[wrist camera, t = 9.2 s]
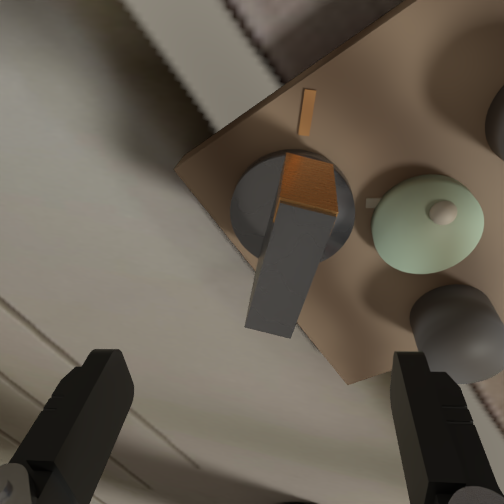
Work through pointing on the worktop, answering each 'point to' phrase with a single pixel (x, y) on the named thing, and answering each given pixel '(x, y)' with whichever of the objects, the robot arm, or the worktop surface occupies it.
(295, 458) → the worktop surface
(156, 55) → the worktop surface
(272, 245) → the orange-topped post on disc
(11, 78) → the worktop surface
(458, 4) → the tribrach base
